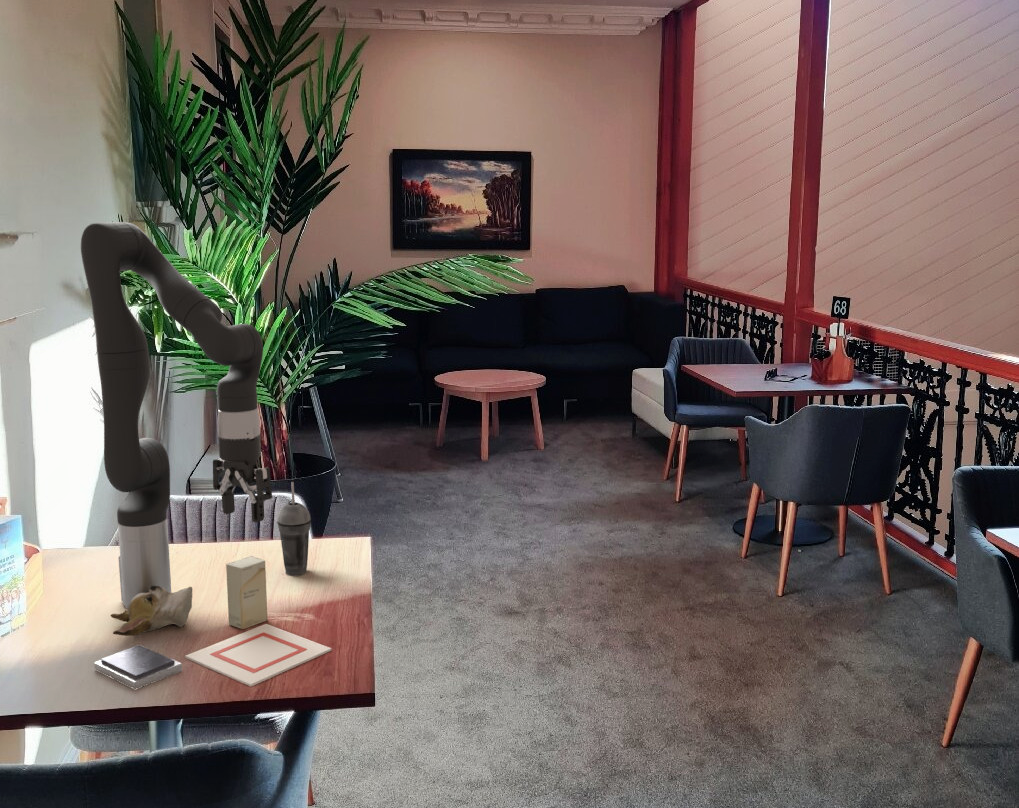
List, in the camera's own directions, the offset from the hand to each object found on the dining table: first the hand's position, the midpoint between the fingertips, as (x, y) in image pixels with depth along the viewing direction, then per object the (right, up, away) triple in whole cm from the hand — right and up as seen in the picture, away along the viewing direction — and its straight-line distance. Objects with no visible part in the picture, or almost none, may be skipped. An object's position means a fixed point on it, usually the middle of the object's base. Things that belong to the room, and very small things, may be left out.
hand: (243, 517), depth 193 cm
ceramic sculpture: (-17, -21, +1) cm, 28 cm away
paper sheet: (+5, -23, -10) cm, 26 cm away
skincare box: (0, -21, +4) cm, 21 cm away
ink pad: (-14, -25, -17) cm, 33 cm away
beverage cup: (+3, -16, +31) cm, 35 cm away
